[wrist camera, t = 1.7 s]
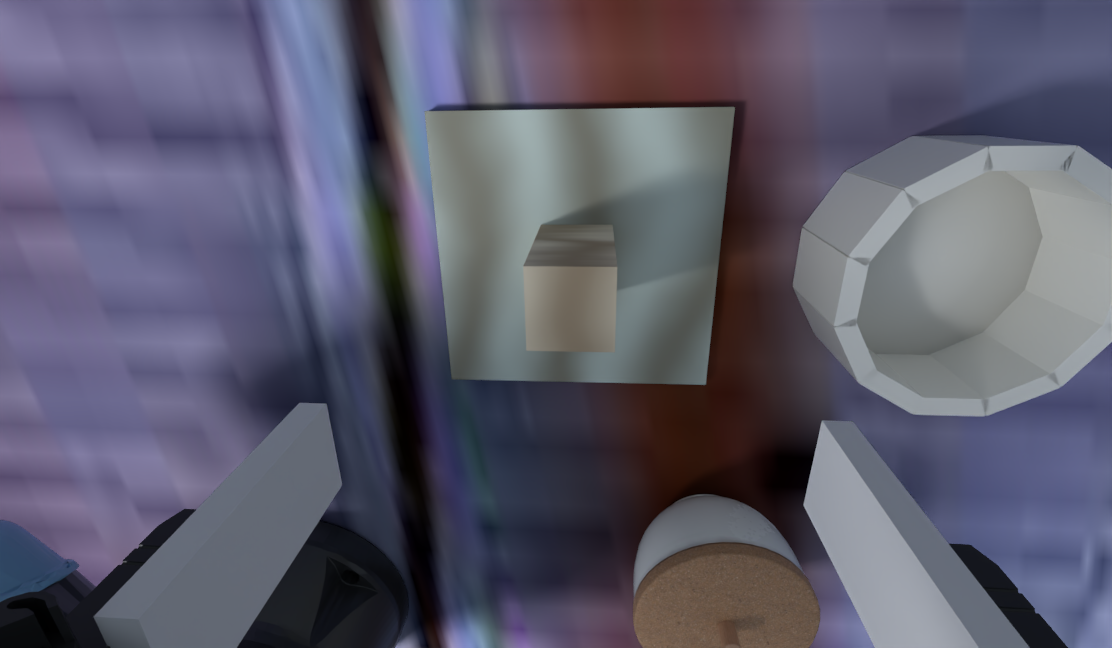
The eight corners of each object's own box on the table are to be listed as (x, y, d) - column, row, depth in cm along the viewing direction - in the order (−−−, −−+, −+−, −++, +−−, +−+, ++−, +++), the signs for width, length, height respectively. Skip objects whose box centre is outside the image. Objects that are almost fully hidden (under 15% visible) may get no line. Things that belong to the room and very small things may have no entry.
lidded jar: (649, 451, 37) (665, 561, 28) (803, 484, 37) (866, 603, 28) (611, 566, 41) (615, 691, 32) (749, 595, 41) (790, 727, 33)
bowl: (780, 359, 33) (816, 412, 28) (816, 136, 28) (869, 147, 23) (1003, 364, 33) (1086, 419, 27) (1081, 134, 28) (1203, 144, 22)
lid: (456, 370, 36) (412, 455, 28) (431, 110, 30) (364, 117, 21) (702, 375, 35) (735, 466, 26) (729, 106, 29) (784, 112, 20)
